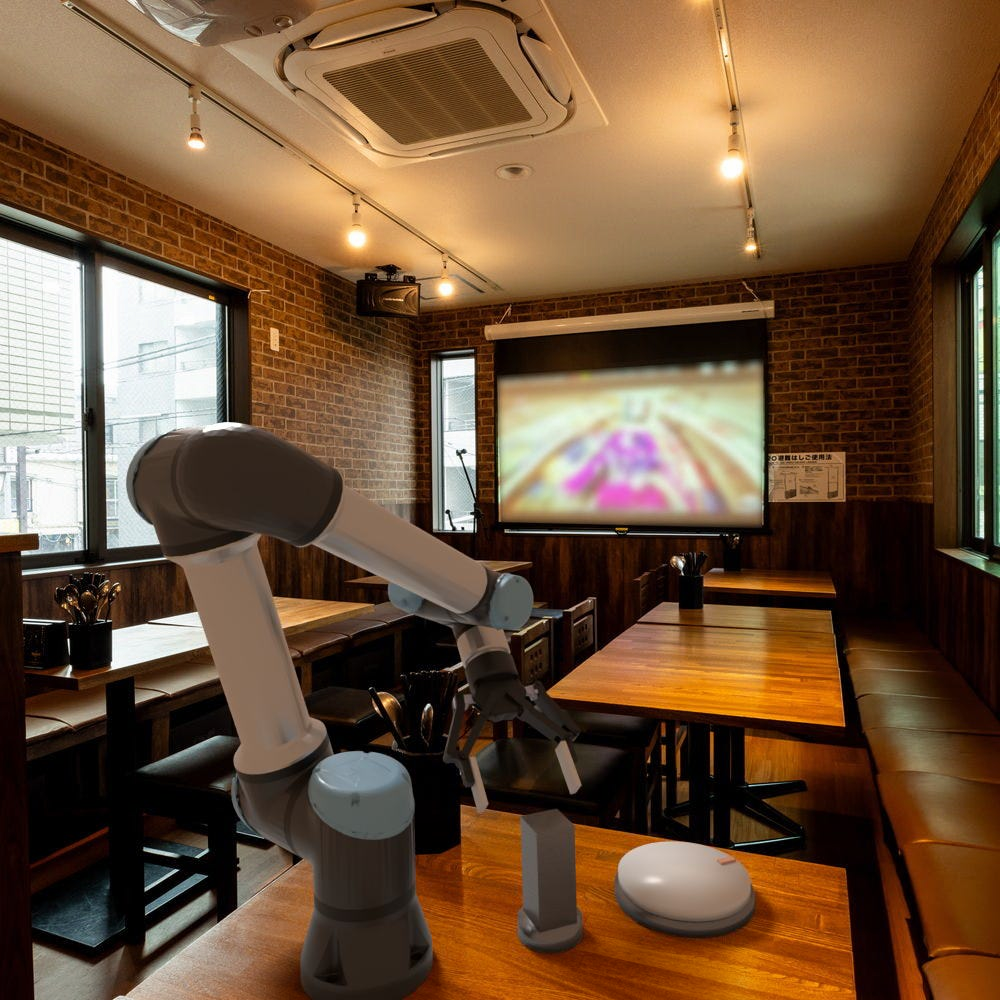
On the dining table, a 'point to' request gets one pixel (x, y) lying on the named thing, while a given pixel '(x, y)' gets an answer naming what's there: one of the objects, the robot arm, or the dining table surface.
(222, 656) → the robot arm
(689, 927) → the base
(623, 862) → the turntable platter
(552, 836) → the square post on disc
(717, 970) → the dining table surface
